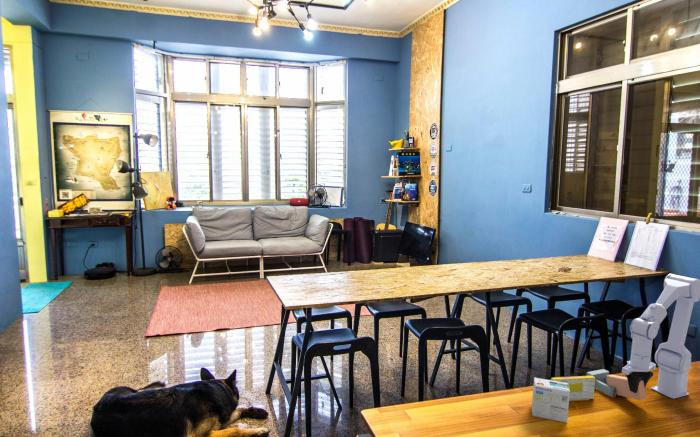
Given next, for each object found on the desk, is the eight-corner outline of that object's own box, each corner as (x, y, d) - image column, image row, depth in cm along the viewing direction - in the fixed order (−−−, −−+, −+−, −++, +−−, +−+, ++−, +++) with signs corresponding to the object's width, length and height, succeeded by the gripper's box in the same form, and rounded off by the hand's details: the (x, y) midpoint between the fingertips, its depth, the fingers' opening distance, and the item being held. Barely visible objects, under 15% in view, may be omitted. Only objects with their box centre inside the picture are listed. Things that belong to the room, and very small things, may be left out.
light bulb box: (565, 413, 149) (568, 382, 148) (567, 423, 143) (571, 391, 142) (530, 406, 153) (533, 376, 151) (531, 416, 146) (534, 385, 145)
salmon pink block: (614, 391, 166) (612, 374, 166) (646, 398, 155) (643, 380, 155) (608, 392, 164) (606, 375, 165) (640, 400, 153) (637, 382, 154)
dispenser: (602, 381, 173) (603, 368, 173) (627, 394, 164) (629, 381, 163) (585, 384, 170) (586, 372, 169) (610, 398, 160) (612, 384, 160)
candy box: (590, 397, 161) (592, 375, 160) (594, 400, 159) (596, 377, 158) (548, 399, 158) (551, 376, 157) (552, 402, 156) (554, 379, 155)
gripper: (643, 346, 161) (639, 382, 163) (615, 351, 156) (611, 388, 157) (663, 354, 155) (659, 391, 156) (635, 359, 149) (630, 398, 151)
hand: (636, 390), depth 156 cm, fingers closed on salmon pink block, 3 cm apart
